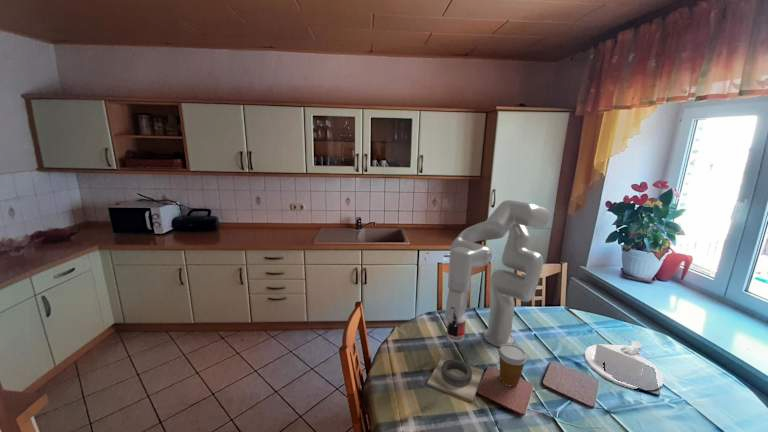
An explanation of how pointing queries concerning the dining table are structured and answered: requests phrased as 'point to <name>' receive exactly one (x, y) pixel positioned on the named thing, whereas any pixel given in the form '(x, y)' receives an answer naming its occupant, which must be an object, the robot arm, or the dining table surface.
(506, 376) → the disposable coffee cup
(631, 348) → the dish
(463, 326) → the pill bottle
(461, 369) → the socket board
